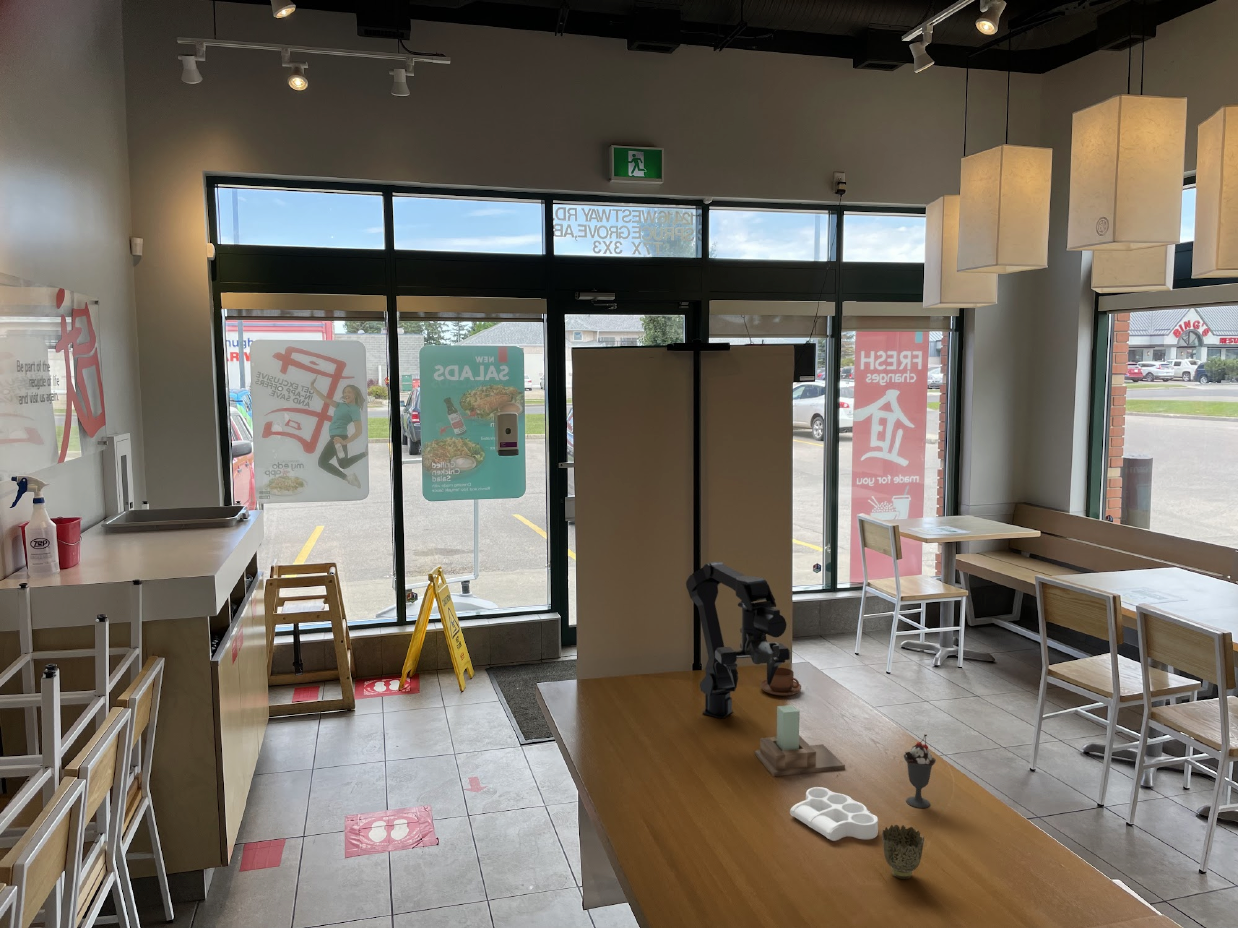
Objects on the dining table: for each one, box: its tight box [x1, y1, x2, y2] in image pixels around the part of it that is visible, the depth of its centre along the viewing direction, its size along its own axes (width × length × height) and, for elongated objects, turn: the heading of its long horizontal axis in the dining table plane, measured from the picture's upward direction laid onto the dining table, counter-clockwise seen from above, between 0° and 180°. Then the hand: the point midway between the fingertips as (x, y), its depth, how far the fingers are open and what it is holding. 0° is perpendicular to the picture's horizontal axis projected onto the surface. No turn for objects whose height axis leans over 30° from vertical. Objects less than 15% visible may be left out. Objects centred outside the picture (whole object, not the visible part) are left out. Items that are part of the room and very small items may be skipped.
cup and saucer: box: [759, 667, 802, 697], centre depth 256 cm, size 12×12×6 cm
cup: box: [881, 824, 925, 880], centre depth 161 cm, size 8×7×8 cm
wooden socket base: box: [754, 735, 846, 777], centre depth 209 cm, size 18×12×4 cm, turn 102°
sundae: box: [903, 734, 937, 809], centre depth 188 cm, size 7×7×15 cm
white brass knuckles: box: [789, 786, 879, 842], centre depth 181 cm, size 3×18×15 cm
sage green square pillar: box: [776, 704, 801, 751], centre depth 208 cm, size 4×4×12 cm
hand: (752, 685), depth 224 cm, fingers open, 9 cm apart
